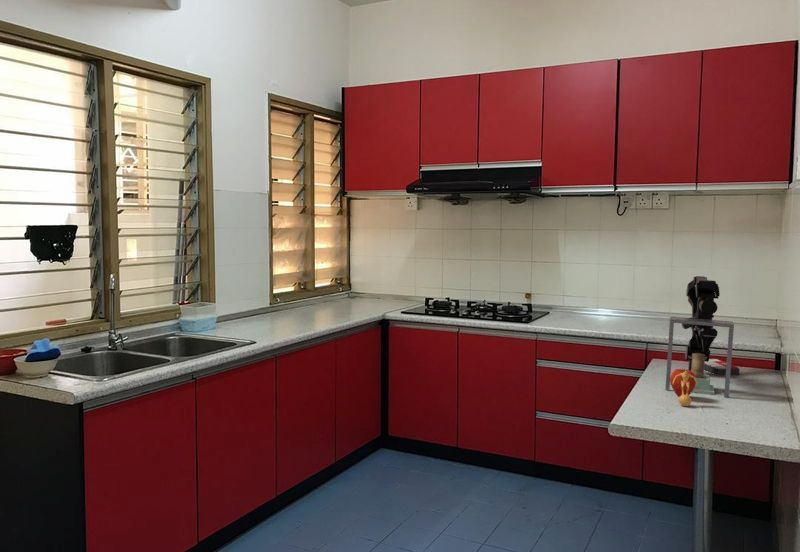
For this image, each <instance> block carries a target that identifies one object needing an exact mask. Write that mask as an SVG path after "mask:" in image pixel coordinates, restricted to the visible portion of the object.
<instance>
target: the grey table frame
mask: <svg viewBox="0 0 800 552" xmlns="http://www.w3.org/2000/svg"><path fill="white" fill-rule="evenodd" d="M681 323H682V324H695V325H707V326H713V327H719V328H720V327H722V328H728V338H727V349H726V350H727V351H726V352H727V353H726V363H727V364H726V375H725V380H724V395H723V397H724V398H725V399H726V398H727V399H730V397H729V396H730V385H731V375H730V372H731V365H732V358H733V355H732V354H733V344H734V341H733V340H734V329H735V328H734V327H735V324H734V322H733V321H731V320H719V319H718V320H717V319H712V320H708V319H695V318H691V317H682V316H681V317H680V316H670V318H669V329H668V342H667V343H668V346H667V360H666V376H665V377H666V378H665V391H668V390H669V391H670V388H671V387H670V385H671V384H670V377H671V375H672V371H671V370H672V360H673V359H672V357H673V355H672V354H673V342H674V341H673V340H674V327H675V326H674V325H675V324H681ZM682 324H681V325H682Z"/></svg>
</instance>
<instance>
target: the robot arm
mask: <svg viewBox="0 0 800 552" xmlns="http://www.w3.org/2000/svg"><path fill="white" fill-rule="evenodd" d="M685 293H686V295H685V296H686V297H687V302H688V304H689V305H690V306H691V317H690V318H695V319H708V320H713V318H714V316H715V315H714V314H715V313H716V312H717V311H718V304H717V303H716V301H715V299H717V300H718V299H719V297H720V286H719V284H718V283H717V281H716V280H709V279H708V277H706V276H701V275H700V276H698V275H696V276H693V279H692V280H691V281H690V282H688V284H687V287H686V292H685ZM680 324H681V327H682V329H684V330H688V329H689V328H690V330H691V338H690V339H689V341H688V344H687V346H686V348H685V352H684V358H685V360H686V361H688V366H687V370H689V371H691V366H692V354H693V353H700V354H704V355H705V361H706V362H708V361H709V359H710V357H711V350H710V347H711V345H712V344H713V342H714V340H715V339H716V338H717V337H718V330H717V329H716V328H715V327H714V326H707V325H695V324H682V323H680ZM704 375H706V374H705V373H704Z"/></svg>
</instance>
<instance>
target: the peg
mask: <svg viewBox="0 0 800 552" xmlns="http://www.w3.org/2000/svg"><path fill="white" fill-rule="evenodd" d="M704 362H705V355H704V354H700V353H693V354H692V366H691V371H692V372H693V373H694V375H695V378H702V379H703V376H704V374H705V373H704V372H705V371H704Z"/></svg>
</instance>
